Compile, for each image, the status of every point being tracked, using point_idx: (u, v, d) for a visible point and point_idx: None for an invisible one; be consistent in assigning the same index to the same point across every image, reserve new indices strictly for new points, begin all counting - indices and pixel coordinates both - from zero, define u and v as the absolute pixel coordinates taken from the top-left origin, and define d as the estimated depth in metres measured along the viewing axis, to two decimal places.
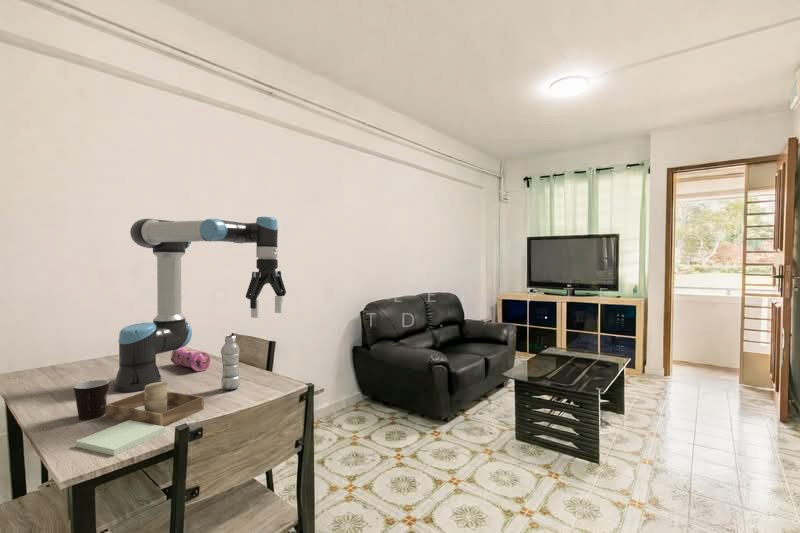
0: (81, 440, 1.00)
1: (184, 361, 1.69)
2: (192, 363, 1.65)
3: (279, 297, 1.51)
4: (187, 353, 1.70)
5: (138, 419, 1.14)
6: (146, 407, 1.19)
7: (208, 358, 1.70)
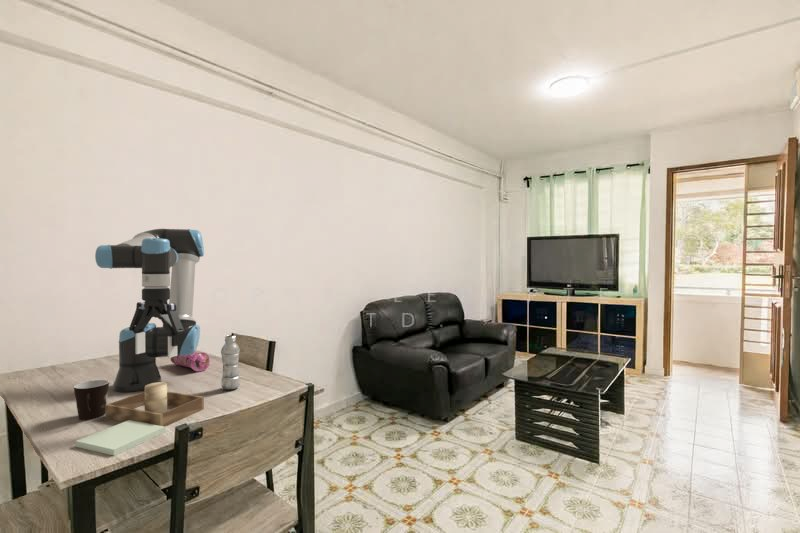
0: (81, 440, 1.00)
1: (184, 361, 1.69)
2: (191, 363, 1.65)
3: None
4: None
5: (138, 419, 1.14)
6: (146, 407, 1.19)
7: (207, 358, 1.70)
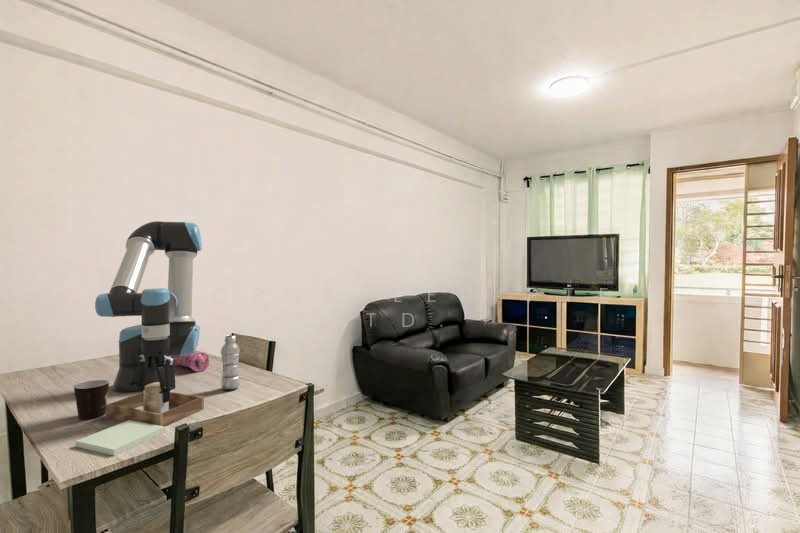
0: (81, 440, 1.00)
1: (183, 361, 1.69)
2: (191, 363, 1.65)
3: None
4: None
5: (138, 419, 1.14)
6: (146, 407, 1.19)
7: (207, 358, 1.70)
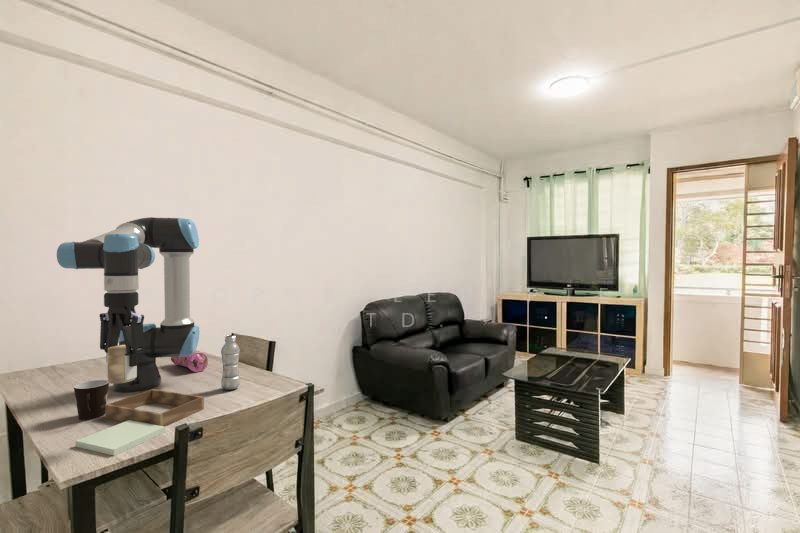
0: (81, 440, 1.00)
1: (182, 361, 1.69)
2: (189, 363, 1.64)
3: None
4: None
5: (138, 419, 1.14)
6: (109, 372, 1.01)
7: (206, 359, 1.69)
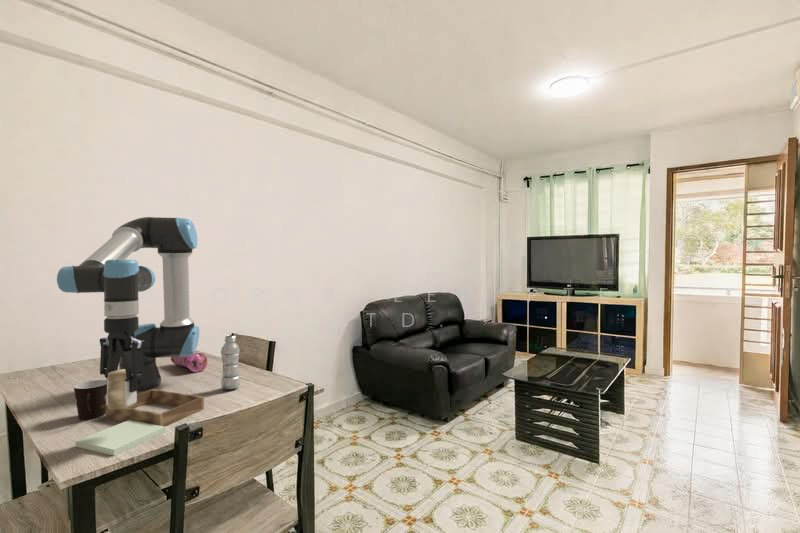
0: (81, 440, 1.00)
1: (182, 361, 1.69)
2: (188, 364, 1.64)
3: None
4: None
5: (138, 419, 1.14)
6: (109, 397, 1.01)
7: (205, 359, 1.69)
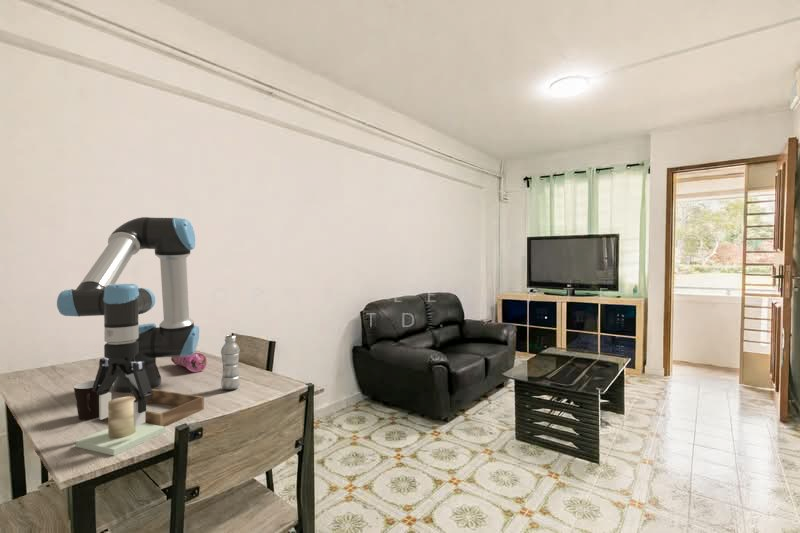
0: (81, 440, 1.00)
1: (181, 361, 1.69)
2: (187, 364, 1.64)
3: None
4: None
5: None
6: (109, 426, 1.02)
7: (204, 359, 1.69)
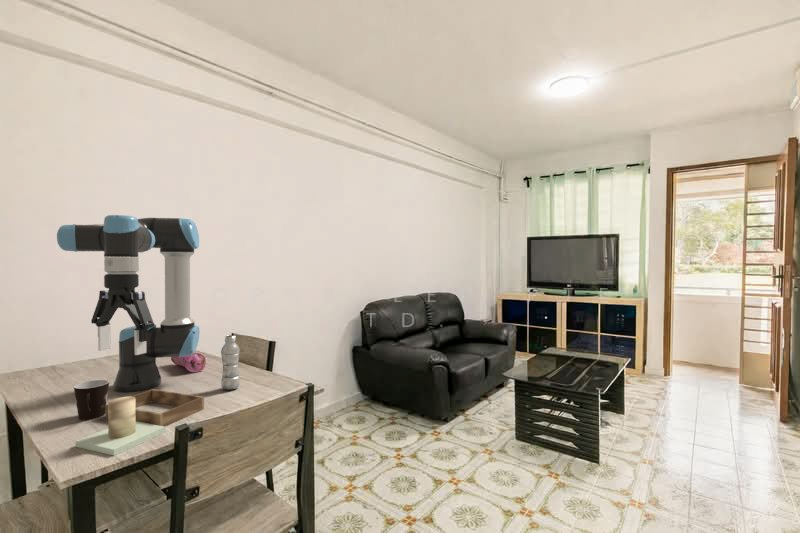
0: (81, 440, 1.00)
1: (181, 361, 1.69)
2: (186, 364, 1.63)
3: None
4: None
5: (138, 419, 1.14)
6: (109, 426, 1.02)
7: (203, 359, 1.68)
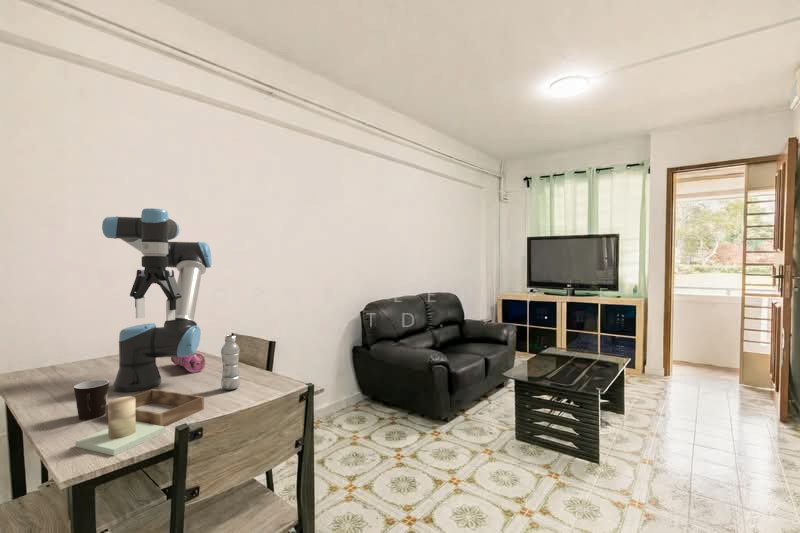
0: (81, 440, 1.00)
1: (180, 361, 1.69)
2: (186, 364, 1.63)
3: None
4: None
5: (138, 419, 1.14)
6: (109, 426, 1.02)
7: (203, 359, 1.68)
